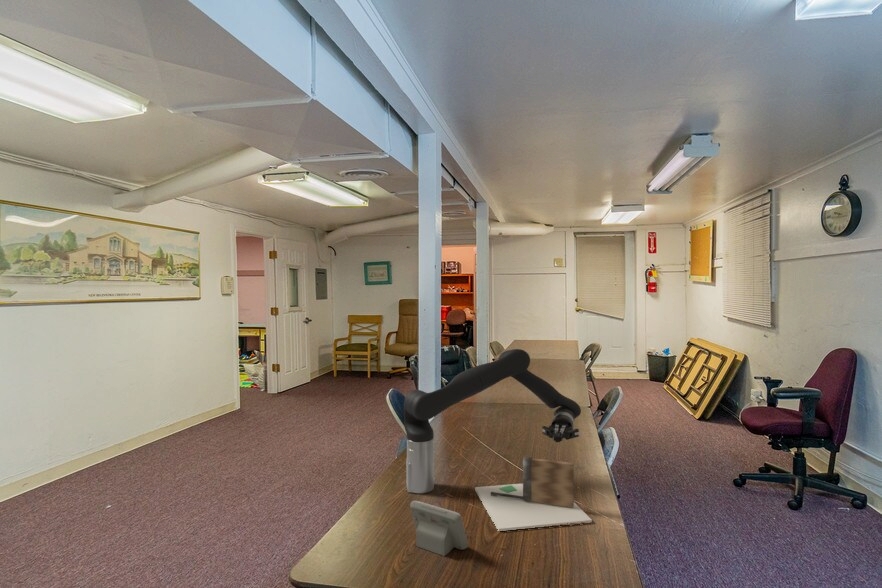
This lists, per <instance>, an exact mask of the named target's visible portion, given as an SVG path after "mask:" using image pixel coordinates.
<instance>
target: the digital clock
mask: <svg viewBox="0 0 882 588" xmlns="http://www.w3.org/2000/svg"><path fill="white" fill-rule="evenodd" d="M409 505H410V506H409V508H410V511H411V515H412V520H413V523H414V528H415V530H416V531H415V532H416V535H415V537H416V539H415V541H416V547H417V548H421V549H423V550H425V551H428V552H432V553H434V554H436V555H440V556H442V557H446V556H447V554H449V553H450V552H451V551H452V550H453V549H454V548H456V549H458V550H461V551H462V550H466V549H467V548H468V545H469V544H468V540H467V535H466V530H465V527H464V522H463V518H462V515H461V514H460V513H459V512H457V511H454V510H450V509H447V508H443V507H440V506H436V505H432V504H429V503H426V502H422V501H419V500H412V501H410V504H409Z"/></svg>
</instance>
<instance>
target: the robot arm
mask: <svg viewBox="0 0 882 588" xmlns="http://www.w3.org/2000/svg"><path fill="white" fill-rule="evenodd" d="M530 364H531V357H530V354H529V353H528V352H527V351H525V350H524V349H519V348H514V349H509V350H508V349H507V350H505V351H503V352H501V353H500V355H499V357H498V359H496V360H495V361H491V362H487V363H483V364H479V365H476V366H473V367H470V368H468V369H465V370H464V371H462V372H461V371H460V372H459V373H457V375H455V376H454V377H453V378H452V379H451V380H450V382H449V383H448V384H446V385H445V386H443V387H441V388H439V389H437V390H434V391H430V392H426V391H424V390H420V389H413V390H410V391H409V392H408V393H407V395H405V398H404V401H403V425H404V430H405V435H406V459H405V462H406V464H405V468H406V469H405V470H406V471H405V472H406V473H405V474H406V477H405V478H406V479H405V480H406V485H405V486H406V489H407V492H408V493H414V494H427V493H429V492H431V491H434V488H435V461H434V460H435V458H434V457H435V456H434V455H435V454H434V453H435V452H434V451H435V449H434V448H435V447H434V445H435V443H434V441H435V439H434V438H435V437H434V429H433V427H432V425H431V423H430V421H429V420H431V419H433V418H434V417H437V416H438V415H439V414H441V413H443V411H445V410H447V409H449V408H450V407H452V406H454V405H456V404H458V403H461V402H462V401H465V400H466V399H469V398H472V397H473V396H476V395H478V394H480V393H482V392H483V391H485V390H487V389H488V388H490V387H493V386H494V385H496V384H497V383H499V382H501V381H502V380H505V379H508V378H509V377H511V378H512V379H514V380H516V381H517V382H518V383H520V384H521V385H523V386H524V387H525V388H527V389H528V390H529V391H530V392H532V393H533V394H534V395H535V396H536V397H537V398H538V399H539V400H540V401H542V402H543V403H544V405H545V406H547V407H548V408H549V409H555V410H554V412H553V416H554V417H553V419H552V422H551V424H550V425H549V426H546V425H543V426H541V427H542V428H541V429H542V434H543V435H544V436H546V437H548V438H549V439H553V442H555V443H561V442H563V440H564V439H565V440H571V439H575V438H579V437H580V436H579V435H580V433H579V432H580V431H579V428H575V420H576V418H578V417H579V416H580V415H581V414H582V409H581V406H580V404H579V403H577V402H576V401H575V400H573V399H571V398H569V397H567V396H565V395H563V394H561V393H560V392H559V391H558V390H557V389H556V388H555V387H554V386H553V385H552V384H550V383H549V382H548V381H546V380H545V379H543V378H541V377H540V376H538V375H536V374H534V373H533V372H531V371H529V369H528V368H529V367H530Z"/></svg>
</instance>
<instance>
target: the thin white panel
mask: <svg viewBox="0 0 882 588" xmlns="http://www.w3.org/2000/svg"><path fill="white" fill-rule="evenodd" d="M474 491H475V493H476V494H477V496H478V498H479V500H480V502H481V501H482V502H481V503H482V505H483V507H484V509H485V511H486V510H487V511H486V512H487V514H488V516H489V517H491V518H490V519H491V521H492V523H493V522H494V523H493V525H494V524H495V525H494V526H496V527H495V528H496V530H497V529H498V530H497V532H498V531H506V530H516V529H525V528H535V527H544V526H552V525H560V524H567V523H568V524H570V523H581V522H592V523H593V521H592V518H590V516H589V515H588V514H587V513H585V511H584V510H583V509H582V508H581V507H579V505H577V504H576V502H574V507H568V506H561V505H554V504H548V503H541V502H534V501H524V500H523V499H518V498H512V497H505V496H499V495H492V494H491V492H496V493H503V494H510V495H516V496H523V483H513V484H511V483H509V484H500V485H499V484H498V485H486V486H476V487H474Z"/></svg>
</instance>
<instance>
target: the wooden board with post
mask: <svg viewBox="0 0 882 588" xmlns="http://www.w3.org/2000/svg"><path fill="white" fill-rule="evenodd" d="M574 469H575V467H574V462H566V461H560V460H559V461H558V460H553V459H552V460H550V459H545V458H544V459H543V458H534V457H530V456H523V457H522V484H523V496H516V495H510V494H503V493H496V492H491V494H492V495H499V496H505V497H512V498H518V499H523V500H524V501H534V502H541V503H548V504H554V505H561V506H568V507H574V503H575V501H574V500H575V499H574V497H575V495H574V493H575V492H574V491H575V490H574V489H575V487H574V483H575V481H574V479H575V478H574V476H575V475H574V474H575V472H574V471H575V470H574Z"/></svg>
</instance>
